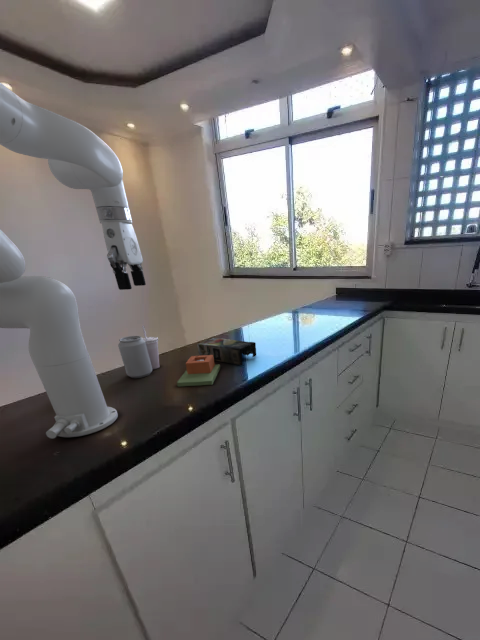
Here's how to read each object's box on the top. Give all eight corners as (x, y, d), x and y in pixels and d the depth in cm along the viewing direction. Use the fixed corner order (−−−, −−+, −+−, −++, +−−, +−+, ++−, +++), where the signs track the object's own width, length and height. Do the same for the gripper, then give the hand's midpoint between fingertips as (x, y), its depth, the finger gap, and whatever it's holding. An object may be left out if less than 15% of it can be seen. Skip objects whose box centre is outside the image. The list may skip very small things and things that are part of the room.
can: (157, 370, 102) (148, 334, 96) (145, 379, 95) (134, 341, 90) (136, 370, 103) (126, 334, 97) (122, 379, 96) (110, 341, 91)
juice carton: (196, 358, 111) (193, 341, 109) (215, 351, 119) (213, 335, 117) (240, 366, 103) (238, 348, 100) (258, 358, 111) (256, 341, 108)
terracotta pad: (210, 372, 95) (208, 362, 93) (187, 374, 94) (185, 363, 93) (214, 365, 101) (213, 354, 100) (193, 366, 101) (191, 356, 99)
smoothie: (139, 369, 102) (128, 327, 97) (151, 364, 108) (142, 323, 102) (155, 370, 101) (146, 327, 95) (167, 365, 107) (159, 323, 101)
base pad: (212, 384, 89) (210, 371, 88) (177, 386, 89) (174, 373, 87) (220, 367, 102) (218, 355, 100) (189, 369, 102) (187, 357, 100)
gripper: (113, 212, 72) (134, 290, 79) (143, 219, 87) (157, 283, 95) (80, 214, 71) (104, 291, 79) (115, 220, 87) (132, 284, 94)
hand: (133, 287), depth 87 cm, fingers open, 9 cm apart
